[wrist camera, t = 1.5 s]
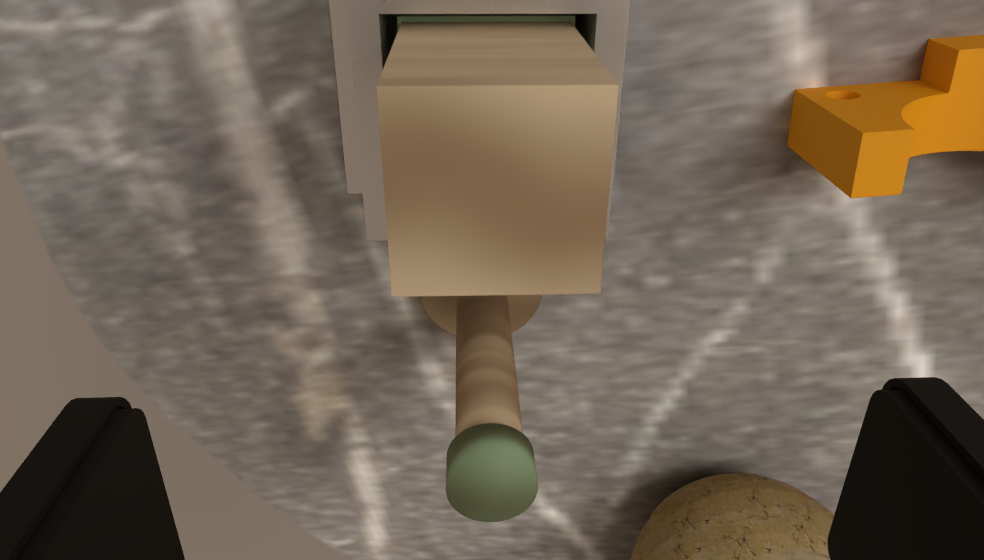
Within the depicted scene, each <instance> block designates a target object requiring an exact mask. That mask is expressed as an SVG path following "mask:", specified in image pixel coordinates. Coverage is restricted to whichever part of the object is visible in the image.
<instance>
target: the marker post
mask: <svg viewBox="0 0 984 560" xmlns="http://www.w3.org/2000/svg"><path fill="white" fill-rule="evenodd" d="M420 297H421V301H422V304H423V306H424V308H425V310H426V312H427V314H428V315H429V317H430V318H431V319H432V320H433V321H434V322H435V323H436V324H437V325H438V326H439V327H441V328H442V329H444V330H445V331H447V332H449V333H451V334H453V335H455V336H456V437H455V438H454V440H453V441H452V442H451V444H450V446H449V448H448V451H447V467H446V494H447V498H448V500H449V502H450V504H451V505H452V507H453V508H454V509H455V510H456V511H458V512H459V513H460V514H462V515H464V516H466V517H468V518H470V519H473V520H477V521H484V522H497V521H503V520H507V519H510V518H513V517H515V516H517V515H519V514H521V513H522V512H524V511H525V510H526V509H527V508H528V507H529V506H530V505H531V504H532V503H533V501H534V499H535V497H536V494H537V490H538V483H537V475H536V467H535V460H534V452H533V447H532V445H531V443H530V441H529V440H528V438H527V437H526V436H525V435H524V434H523V432H522V423H521V414H520V406H519V397H518V388H517V379H516V370H515V361H514V352H513V344H512V335H511V333H512V332H514V331H516V330H517V329H519V328H520V327H522V326H523V325H524V324H525V323H526V322H527V321H528V320H529V319H530V318H531V317H532V316H533V314H534V313H535V311H536V310H537V308H538V306H539V303H540V301H541V297H542V294H540V295H475V296H420Z"/></svg>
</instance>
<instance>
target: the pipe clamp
mask: <svg viewBox="0 0 984 560" xmlns="http://www.w3.org/2000/svg"><path fill="white" fill-rule="evenodd" d="M787 146H788V147H790V148H791V149H792V150H793V151H795V152H796V153H797V154H798V155H799V156H801V157H802V158H803V159H804V160H805V161H807V162H808V163H809V164H810V165H811V166H813V167H814V168H815V169H816V170H817V171H819V172H820V173H821V174H822V175H824V176H825V177H826V178H827V179H828V180H830V181H831V182H832V183H833V184H834V185H836V186H837V187H838V188H839V189H840V190H842V191H843V192H844V193H845V194H846V195H848V196H849V197H850V198H859V197H872V196H886V195H899V194H901V192H902V188H903V183H904V179H905V174H906V170H907V165H908V161H909V158H911V157H914V156H918V155H922V154H928V153H936V152H946V151H984V35H977V36H964V37H951V38H937V39H928V43H927V48H926V52H925V57H924V62H923V66H922V71H921V75H920V80H913V81H900V82H887V83H874V84H860V85H847V86H834V87H821V88H808V89H795V93H794V100H793V108H792V115H791V122H790V130H789V137H788V144H787Z"/></svg>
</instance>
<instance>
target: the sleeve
mask: <svg viewBox="0 0 984 560" xmlns="http://www.w3.org/2000/svg"><path fill="white" fill-rule="evenodd" d="M329 8H330V19H331V29H332V39H333V49H334V60H335V70H336V80H337V90H338V101H339V111H340V121H341V131H342V142H343V152H344V162H345V172H346V183H347V193H348V194H363V206H364V217H365V229H366V240H367V241H386V240H387V226H386V212H385V198H384V184H383V170H382V156H381V142H380V128H379V114H378V100H377V84H378V81H379V78H380V76H381V73H382V71H383V68H384V66H385V63H386V61H387V58H388V56H389V53H390V51H391V48H392V45H393V43H394V40H395V38H396V35H397V33H398V30H397V15H398V14H574V15H575V16H576V18H575V28H576V29H577V31H578V32H579V33H580V35H581V36H582V37H583V38H584V40H585V41H586V42H587V44H588V45H589V46H590V48H591V49H592V50H593V52H594V53H595V54H596V56H597V57H598V58H599V60H600V61H601V62H602V63H603V65H604V66H605V67H606V69H607V70H608V71H609V73H610V74H611V75H612V77H613V78H614V79H615V81H616V82H617V83H618V85H619V87H618V99H617V110H616V121H615V133H614V144H613V155H612V167H611V178H610V189H609V201H608V212H607V223H606V234H605V238H608V232H609V221H610V210H611V199H612V191H613V185H614V174H615V163H616V152H617V141H618V130H619V119H620V108H621V98H622V87H623V76H624V65H625V54H626V43H627V32H628V21H629V10H630V0H329Z"/></svg>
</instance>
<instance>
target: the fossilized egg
mask: <svg viewBox="0 0 984 560" xmlns="http://www.w3.org/2000/svg"><path fill="white" fill-rule="evenodd" d="M833 518H834V514H833V513H831V512H830V511H829V510H828V509H827V508H825V507H824V506H823V505H822V504H820V503H819V502H817V501H816V500H815V499H813V498H812V497H810V496H808V495H807V494H805V493H804V492H802V491H800V490H798V489H796V488H794V487H792V486H790V485H788V484H786V483H783V482H780V481H777V480H773V479H770V478H766V477H762V476H758V475H755V474H745V473H728V474H719V475H714V476H709V477H705V478H702V479H699V480H696V481H694V482H691V483H689V484H687V485H685V486H684V487H682V488H680V489H678V490H676V491H675V492H674V493H672V494H671V495H669V496H668V497H667V498H665V499H664V500H663V501H662V502H661V503H660V504H659V506H658V507H657V508H656V509H655V510H654V511H653V513H652V514H651V516H650V517H649V519H648V520H647V522H646V523H645V525H644V527H643V528H642V530H641V531H640V533H639V535H638V538H637V540H636V543H635V546H634V550H633V553H632V556H631V560H830V557H829V553H828V534H829V531H830V528H831V525H832V521H833Z"/></svg>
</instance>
